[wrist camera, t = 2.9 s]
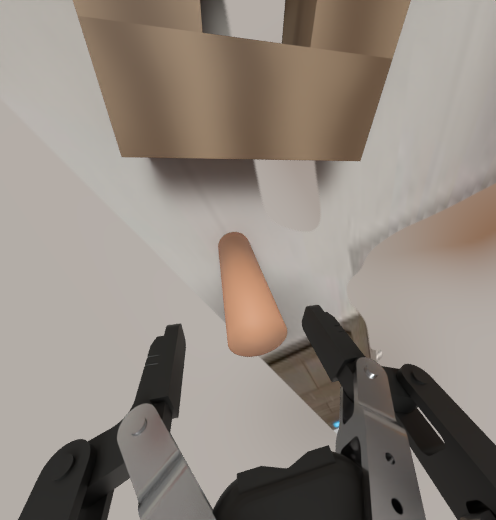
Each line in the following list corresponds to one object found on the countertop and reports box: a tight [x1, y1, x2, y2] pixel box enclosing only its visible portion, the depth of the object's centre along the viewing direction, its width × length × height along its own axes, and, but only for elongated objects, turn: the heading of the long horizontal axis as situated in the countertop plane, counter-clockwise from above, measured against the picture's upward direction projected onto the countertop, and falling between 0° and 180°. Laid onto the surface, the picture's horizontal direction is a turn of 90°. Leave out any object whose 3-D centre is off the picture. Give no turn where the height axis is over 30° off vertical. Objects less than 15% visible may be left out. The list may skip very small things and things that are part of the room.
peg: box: [218, 232, 287, 357], centre depth 15 cm, size 4×4×12 cm
